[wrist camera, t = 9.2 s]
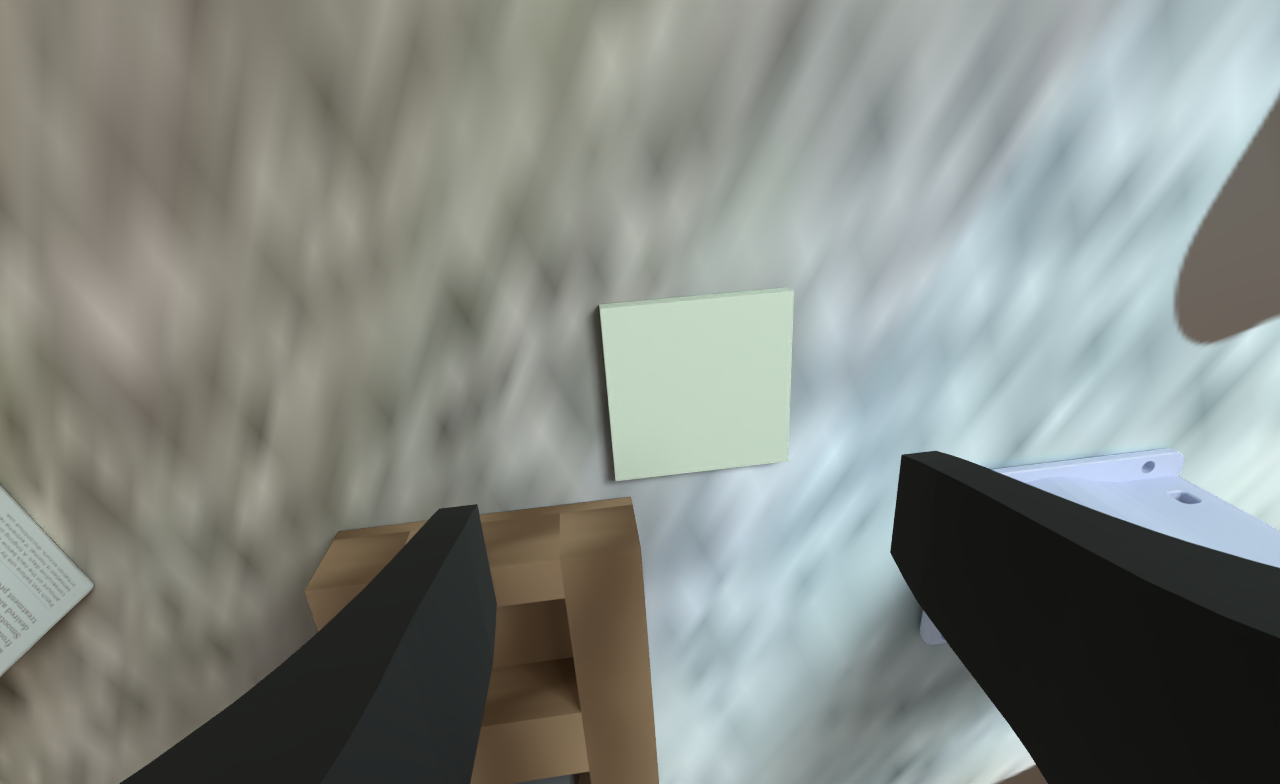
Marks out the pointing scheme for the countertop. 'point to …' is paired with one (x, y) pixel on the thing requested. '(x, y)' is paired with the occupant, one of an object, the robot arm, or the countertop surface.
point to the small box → (31, 582)
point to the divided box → (543, 639)
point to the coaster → (698, 381)
